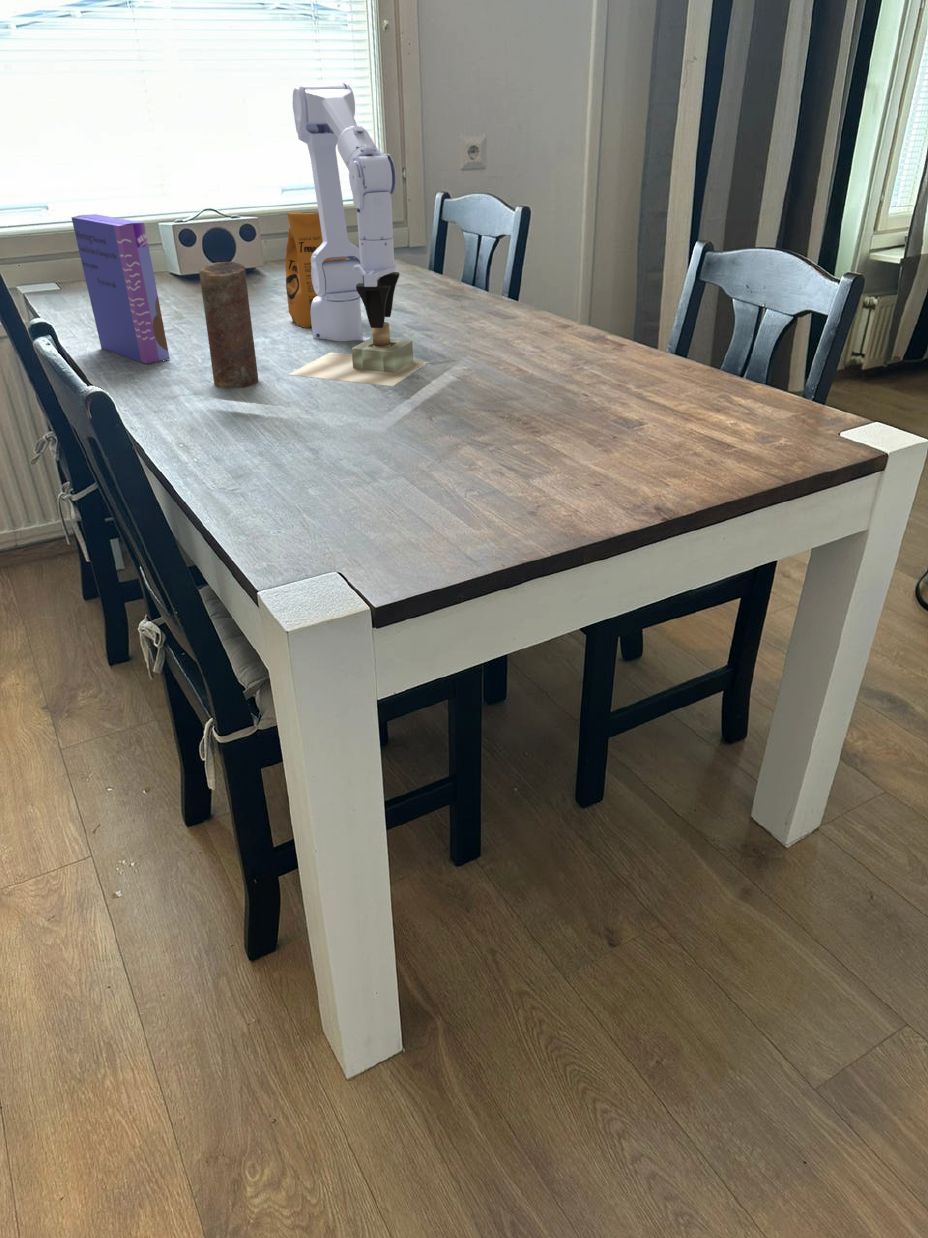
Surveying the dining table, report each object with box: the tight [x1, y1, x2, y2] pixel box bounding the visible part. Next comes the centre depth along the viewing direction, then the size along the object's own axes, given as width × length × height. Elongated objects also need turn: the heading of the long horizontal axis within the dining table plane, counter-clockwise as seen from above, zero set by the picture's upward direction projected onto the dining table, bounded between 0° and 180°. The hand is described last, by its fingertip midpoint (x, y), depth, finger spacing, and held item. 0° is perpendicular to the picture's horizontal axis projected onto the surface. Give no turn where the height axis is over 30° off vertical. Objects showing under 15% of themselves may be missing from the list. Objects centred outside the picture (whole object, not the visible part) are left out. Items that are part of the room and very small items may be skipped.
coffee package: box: [284, 211, 347, 329], centre depth 183 cm, size 10×12×22 cm
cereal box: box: [71, 213, 170, 366], centre depth 162 cm, size 17×5×24 cm, turn 47°
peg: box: [371, 321, 391, 348], centre depth 153 cm, size 3×3×7 cm
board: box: [287, 336, 429, 387], centre depth 152 cm, size 20×15×5 cm
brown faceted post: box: [198, 261, 259, 390], centre depth 142 cm, size 8×7×20 cm
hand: (380, 321), depth 151 cm, fingers open, 7 cm apart
